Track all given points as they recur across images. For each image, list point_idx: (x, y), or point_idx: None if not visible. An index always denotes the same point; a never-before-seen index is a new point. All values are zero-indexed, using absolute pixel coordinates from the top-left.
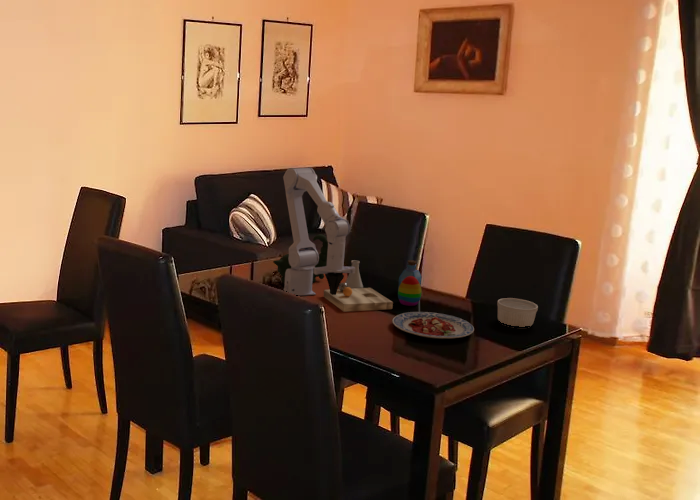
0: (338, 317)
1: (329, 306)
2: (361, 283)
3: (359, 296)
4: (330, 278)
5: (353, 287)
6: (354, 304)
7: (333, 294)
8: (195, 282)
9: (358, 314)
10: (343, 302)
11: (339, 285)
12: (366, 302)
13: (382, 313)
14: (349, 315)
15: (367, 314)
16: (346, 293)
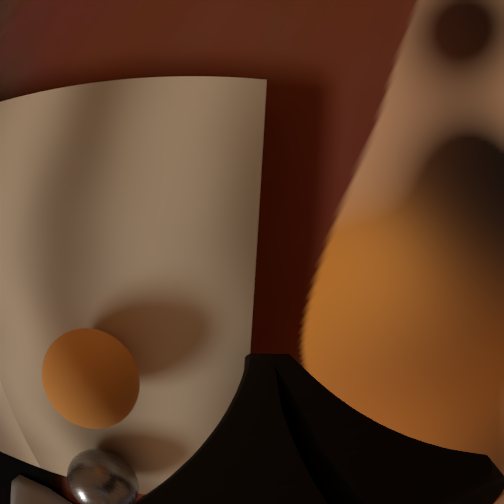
0: (360, 6)
1: (310, 274)
2: (12, 495)
3: (11, 315)
4: (486, 455)
5: (45, 493)
6: (144, 80)
7: (277, 354)
8: (497, 498)
9: (170, 19)
10: (240, 147)
11: (133, 499)
12: (16, 120)
13: (8, 46)
14: (257, 11)
15: (105, 17)
16: (114, 343)
